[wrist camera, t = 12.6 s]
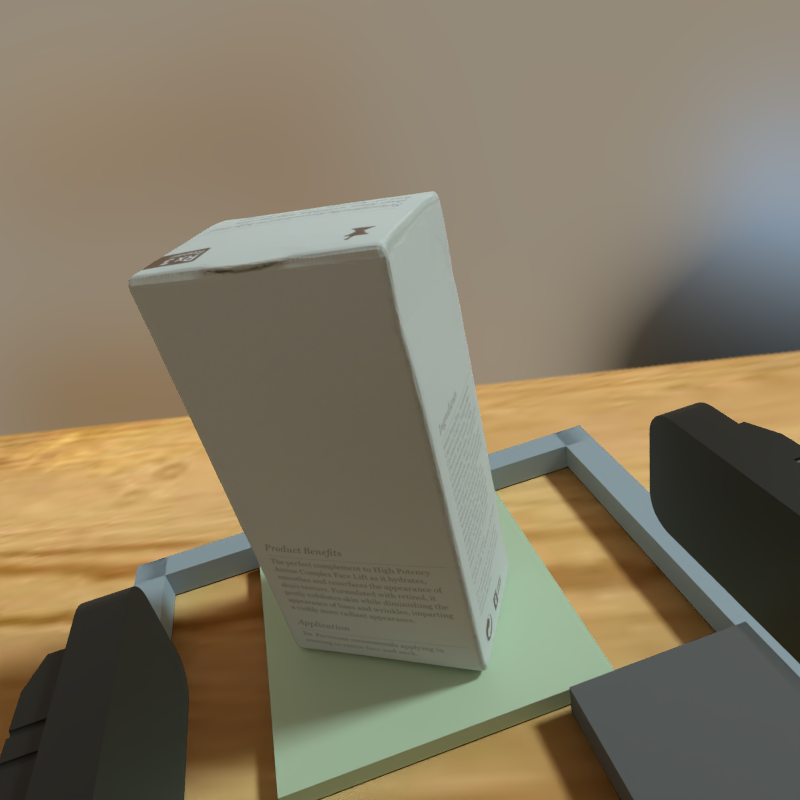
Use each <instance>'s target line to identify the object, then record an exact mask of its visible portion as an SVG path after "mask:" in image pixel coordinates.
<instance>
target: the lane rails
mask: <svg viewBox="0 0 800 800" xmlns="http://www.w3.org/2000/svg"><path fill="white" fill-rule="evenodd" d="M488 459H489V464H490V469H491V475H492V481H493V485H494V490H498V489H501V488H504V487H507V486H510V485H513V484H516V483H519V482H522V481H525V480H528V479H531V478H534V477H537V476H541V475H544V474H547V473H550V472H553V471H556V470H559V469H562V468H565V467H569V468H570V470H571V471H572V472H573V473H574V474H575V475H576V476H577V477H578V478H579V480H580V481H581V482H582V483H583V484H584V485H585V486H586V487H587V489H588V490H589V491H590V492H591V493H592V494H593V495H594V496H595V497H596V499H597V500H598V501H599V502H600V503H601V504H602V505H603V506H604V507H605V509H606V510H607V511H608V512H609V513H610V514H611V515H612V516H613V517H614V519H615V520H616V521H617V522H618V523H619V524H620V525H621V526H622V527H623V529H624V530H625V531H626V532H627V533H628V534H629V535H630V536H631V538H632V539H633V540H634V541H635V542H636V543H637V544H638V545H639V546H640V548H641V549H642V550H643V551H644V552H645V553H646V554H647V555H648V556H649V558H650V559H651V560H652V561H653V562H654V563H655V564H656V565H657V566H658V568H659V569H660V570H661V571H662V572H663V573H664V574H665V575H666V576H667V578H668V579H669V580H670V581H671V582H672V583H673V584H674V585H675V587H676V588H677V589H678V590H679V591H680V592H681V593H682V594H683V595H684V597H685V598H686V599H687V600H688V601H689V602H690V603H691V604H692V605H693V607H694V608H695V609H696V610H697V611H698V612H699V613H700V614H701V615H702V617H703V618H704V619H705V620H706V621H707V622H708V623H709V624H710V625H711V627H712V628H713V629H714V630H715V631H716V632H718V631H721V630H724V629H726V628H729V627H732V626H734V625H737V624H740V623H742V622H745V623H746V622H747V623H748V624H747V625H750V626H751V627H752V629H753V630H754V631H755V632H756V633H757V634H758V635H759V636H760V637H761V638H762V639H763V640H764V641H765V642H766V643H767V644H768V645H769V646H770V647H771V648H772V649H773V651H775V652H776V653H777V654H778V655H779V656H780V657H781V658H782V659H783V660H784V662H785V663H786V664H787V665H788V666H789V667H790V668H791V669H792V670H793V671H794V672H795V673H796V674H797V675H798V676H799V677H800V664H799V663H798V662H797V661H796V660H795V659H794V658H793V657H792V656H791V655H790V654H789V653H788V652H787V651H786V650H785V649H784V648H783V647H782V646H781V645H780V644H779V643H778V642H777V641H776V640H775V639H774V638H773V637H772V636H771V635H770V634H769V633H768V632H767V631H766V630H765V629H764V628H763V627H762V626H761V625H760V624H759V623H758V622H757V621H756V620H755V619H754V618H753V617H752V616H751V615H750V614H749V613H748V612H747V611H746V610H745V609H744V608H743V607H742V606H741V605H740V604H739V603H738V602H737V601H736V600H735V599H734V598H733V597H732V596H731V595H730V594H729V593H728V592H727V591H726V590H725V589H724V588H723V587H722V586H721V585H720V584H719V583H718V582H717V581H716V580H715V579H714V578H713V577H712V576H711V575H710V574H709V573H708V572H707V571H706V570H705V569H704V568H703V567H702V566H701V565H700V564H699V563H698V562H697V561H696V560H695V559H694V558H693V557H692V556H691V555H690V554H689V553H688V552H687V551H686V550H685V549H684V548H683V547H682V546H681V545H680V544H679V543H678V542H677V541H676V540H675V539H674V538H673V537H672V536H670V535H669V534H668V532H667V531H666V530H665V529H664V528H663V526H662V525H661V523H660V522H659V520H658V518H657V516H656V514H655V512H654V509H653V506H652V503H651V498H650V493H649V492H648V491H647V490H646V489H645V488H644V487H643V486H642V485H641V484H640V483H639V482H638V481H637V480H636V479H635V478H634V477H633V476H631V475H630V474H629V473H628V472H627V471H626V470H625V469H624V468H623V467H622V466H621V465H620V464H619V463H618V462H617V461H616V460H615V459H614V458H613V457H612V456H611V455H610V454H609V453H608V452H607V451H605V450H604V449H603V448H602V447H601V446H600V445H599V444H598V443H597V442H596V441H595V440H594V439H593V438H592V437H591V436H590V435H589V434H588V433H587V432H586V431H585V430H584V429H583V428H582V427H581V426H580V425H579V426H576V427H573V428H570V429H567V430H564V431H560V432H557V433H554V434H551V435H548V436H545V437H542V438H538V439H535V440H532V441H529V442H526V443H523V444H520V445H517V446H513V447H510V448H507V449H504V450H501V451H498V452H495V453H491V454H488ZM259 567H260V565H259V563H258V561H257V558H256V556H255V554H254V552H253V550H252V548H251V546H250V543H249V541H248V539H247V537H246V535H245V533H241V534H238V535H235V536H231V537H228V538H225V539H222V540H219V541H216V542H213V543H209V544H206V545H203V546H200V547H197V548H194V549H191V550H188V551H184V552H181V553H178V554H175V555H172V556H169V557H166V558H162V559H159V560H156V561H153V562H150V563H147V564H144V565H141V566H138V567H137V573H136V578H135V584H134V586H137V587H139V588H140V589H141V590H142V591H143V592H144V593H145V595H146V597H147V598H148V600H149V602H150V604H151V606H152V607H153V609H154V611H155V613H156V615H157V616H158V618H159V620H160V622H161V624H162V625H163V627H164V629H165V631H166V633H167V634H168V636H169V638H170V640H171V639H172V628H173V617H174V606H175V595H177V594H180V593H183V592H186V591H189V590H192V589H195V588H198V587H201V586H204V585H207V584H210V583H213V582H216V581H220V580H223V579H226V578H229V577H232V576H235V575H238V574H241V573H244V572H247V571H250V570H253V569H256V568H259ZM742 625H743V624H742ZM744 628H745V627H744ZM742 633H743V632H742ZM749 637H750V636H749ZM747 638H748V637H747ZM751 639H752V637H751ZM756 639H757V638H756ZM758 640H759V639H758ZM755 645H756V644H755ZM761 646H762V645H761ZM763 647H764V646H763ZM780 657H779V658H780ZM784 662H783V663H784ZM777 666H778V665H777ZM787 668H788V667H787ZM790 671H791V670H790ZM782 673H783V672H782ZM792 674H793V673H792ZM797 679H798V678H797ZM793 681H794V680H793ZM798 684H799V683H798Z"/></svg>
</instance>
